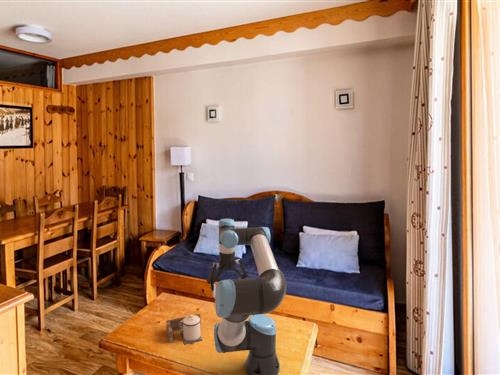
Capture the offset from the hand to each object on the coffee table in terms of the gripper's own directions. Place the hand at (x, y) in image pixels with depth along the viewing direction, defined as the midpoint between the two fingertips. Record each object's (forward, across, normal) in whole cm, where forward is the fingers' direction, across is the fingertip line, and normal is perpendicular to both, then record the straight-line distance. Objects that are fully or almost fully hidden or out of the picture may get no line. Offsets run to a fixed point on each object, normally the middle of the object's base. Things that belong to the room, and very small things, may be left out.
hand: (227, 293), depth 157 cm
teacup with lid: (+26, +16, -15) cm, 34 cm away
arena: (+26, +17, -17) cm, 36 cm away
